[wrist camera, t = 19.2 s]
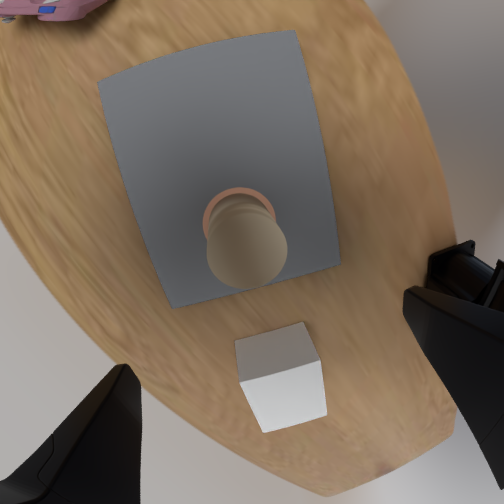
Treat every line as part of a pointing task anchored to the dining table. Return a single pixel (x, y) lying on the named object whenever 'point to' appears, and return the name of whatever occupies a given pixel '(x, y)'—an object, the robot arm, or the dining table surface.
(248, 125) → the board
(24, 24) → the dining table surface
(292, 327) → the white rectangular block
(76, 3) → the video game controller
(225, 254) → the beige cylinder
